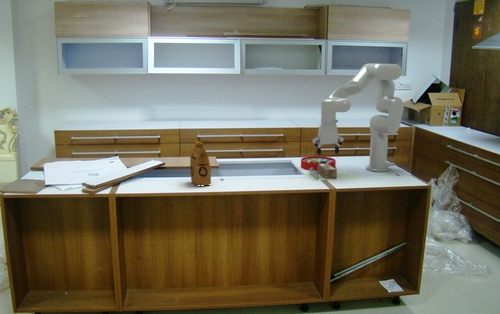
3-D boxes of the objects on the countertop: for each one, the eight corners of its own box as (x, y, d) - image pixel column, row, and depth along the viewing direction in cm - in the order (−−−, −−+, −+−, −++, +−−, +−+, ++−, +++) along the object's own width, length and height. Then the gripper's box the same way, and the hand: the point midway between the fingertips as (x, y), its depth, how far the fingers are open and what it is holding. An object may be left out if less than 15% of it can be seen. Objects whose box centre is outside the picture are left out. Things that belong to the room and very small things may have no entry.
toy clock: (299, 156, 277) (332, 156, 278) (298, 165, 279) (331, 165, 279) (303, 163, 258) (338, 163, 258) (302, 173, 259) (338, 173, 259)
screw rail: (312, 173, 254) (312, 167, 253) (320, 179, 242) (320, 172, 241) (308, 173, 254) (308, 167, 253) (315, 179, 241) (315, 173, 240)
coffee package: (194, 187, 231) (192, 144, 227) (189, 181, 243) (187, 140, 238) (213, 186, 234) (212, 143, 230) (207, 180, 246) (206, 139, 241)
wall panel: (348, 173, 259) (348, 171, 259) (359, 180, 244) (359, 178, 244) (303, 175, 255) (303, 173, 255) (312, 182, 240) (312, 180, 239)
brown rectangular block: (327, 172, 256) (328, 163, 255) (336, 178, 243) (337, 169, 242) (317, 172, 255) (317, 163, 254) (325, 179, 242) (326, 169, 241)
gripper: (341, 120, 248) (340, 152, 252) (310, 122, 245) (310, 153, 249) (346, 122, 240) (345, 154, 244) (314, 124, 238) (314, 156, 241)
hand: (327, 154), depth 247 cm, fingers open, 9 cm apart
